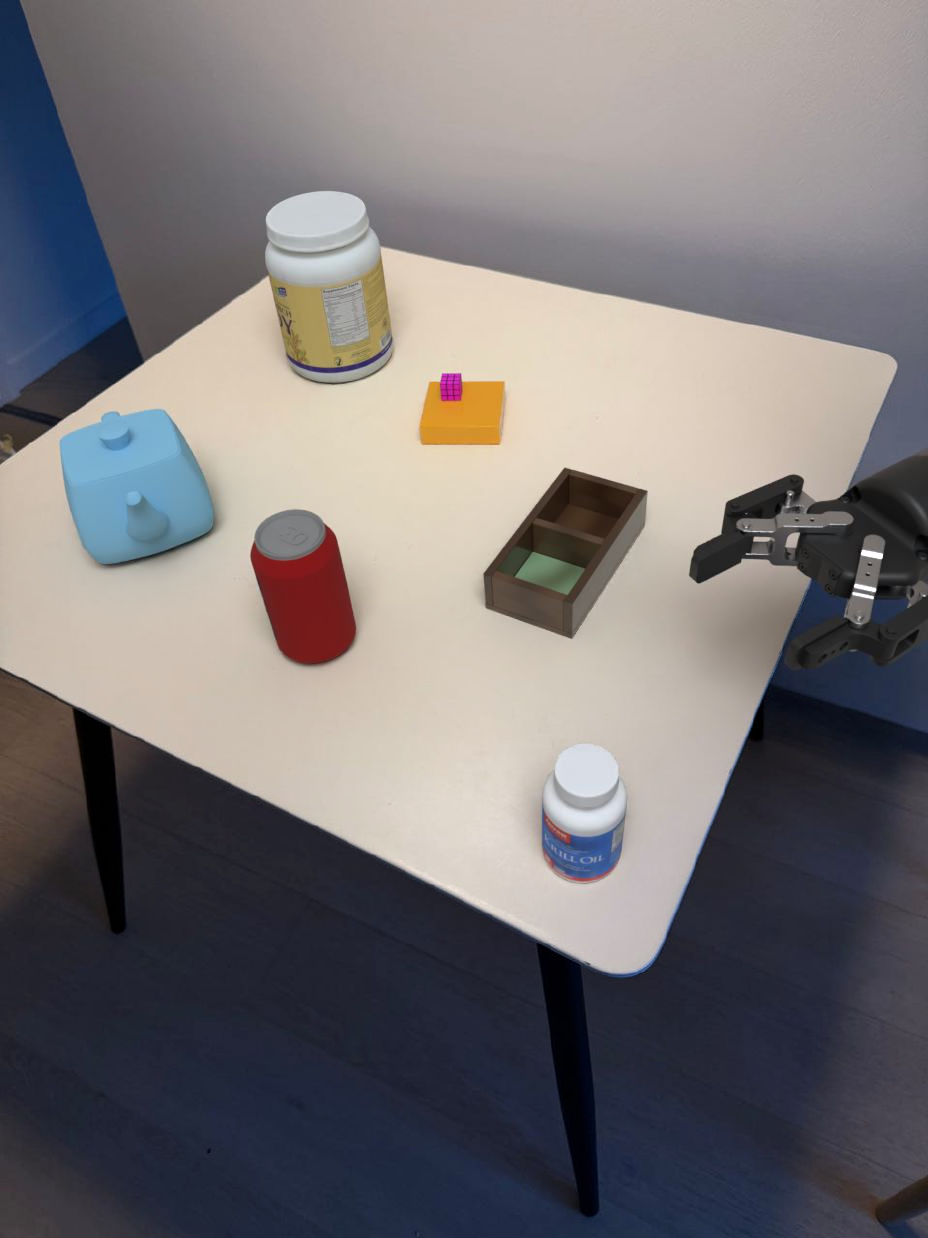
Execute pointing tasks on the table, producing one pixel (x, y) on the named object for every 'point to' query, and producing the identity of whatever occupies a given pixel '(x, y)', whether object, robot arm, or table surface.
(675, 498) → the table surface
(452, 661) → the table surface
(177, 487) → the teapot
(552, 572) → the wooden compartment box
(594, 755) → the pill bottle
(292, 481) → the table surface
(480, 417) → the flat orange square base
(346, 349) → the supplement tub
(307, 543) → the beverage can
